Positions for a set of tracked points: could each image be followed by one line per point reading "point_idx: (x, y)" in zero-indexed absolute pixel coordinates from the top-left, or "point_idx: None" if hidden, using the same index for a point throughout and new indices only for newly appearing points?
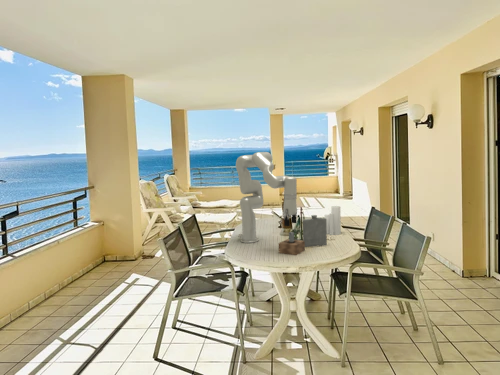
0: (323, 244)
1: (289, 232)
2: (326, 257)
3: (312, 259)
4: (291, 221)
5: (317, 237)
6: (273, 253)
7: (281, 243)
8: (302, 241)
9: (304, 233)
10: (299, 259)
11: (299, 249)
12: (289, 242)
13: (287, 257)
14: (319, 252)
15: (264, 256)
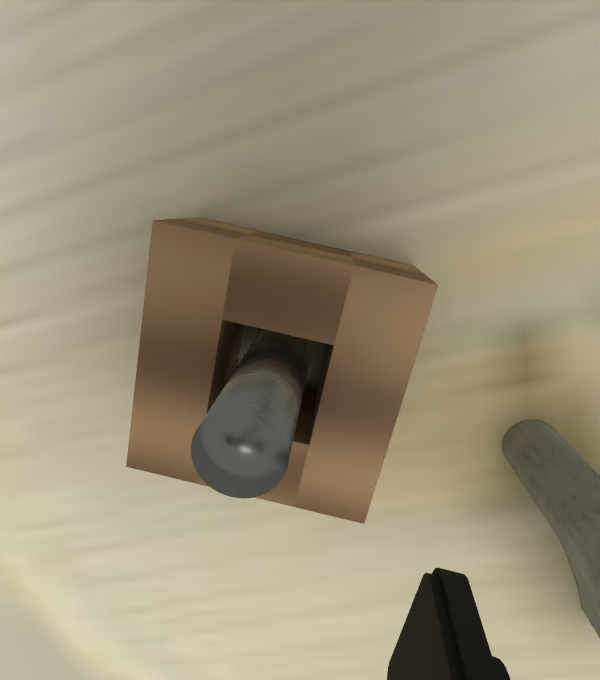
0: (584, 604)
1: (237, 420)
2: (175, 633)
3: (86, 549)
4: (448, 592)
5: None
6: (156, 162)
7: (153, 267)
8: (327, 505)
9: (580, 548)
10: (47, 458)
11: None
12: (242, 360)
13: (66, 348)
14: (310, 580)
15: (9, 93)
